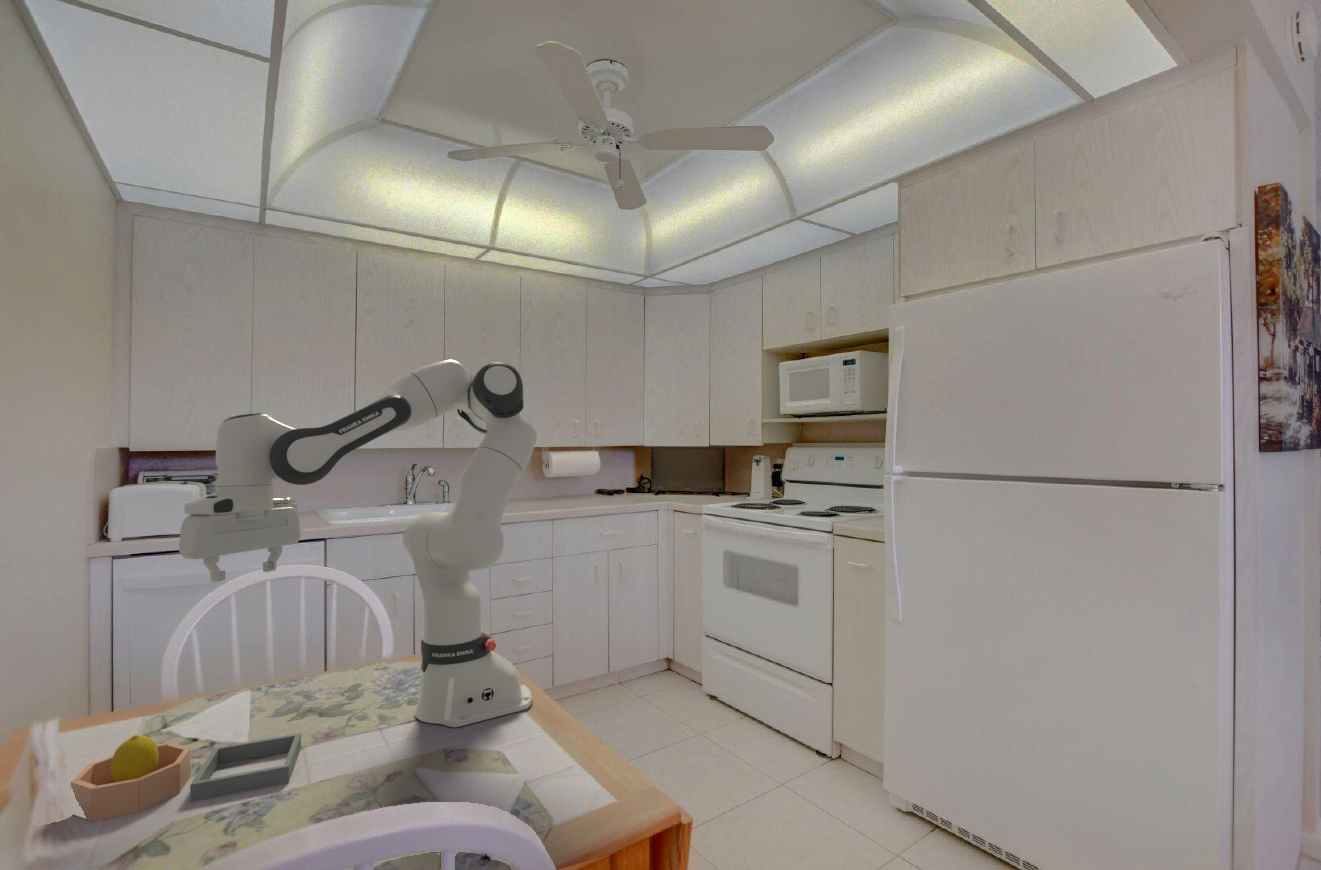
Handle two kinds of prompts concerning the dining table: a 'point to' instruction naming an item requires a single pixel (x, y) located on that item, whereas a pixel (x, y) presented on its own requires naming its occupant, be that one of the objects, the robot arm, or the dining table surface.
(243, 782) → the tray
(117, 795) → the bowl
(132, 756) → the lemon
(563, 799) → the dining table surface
